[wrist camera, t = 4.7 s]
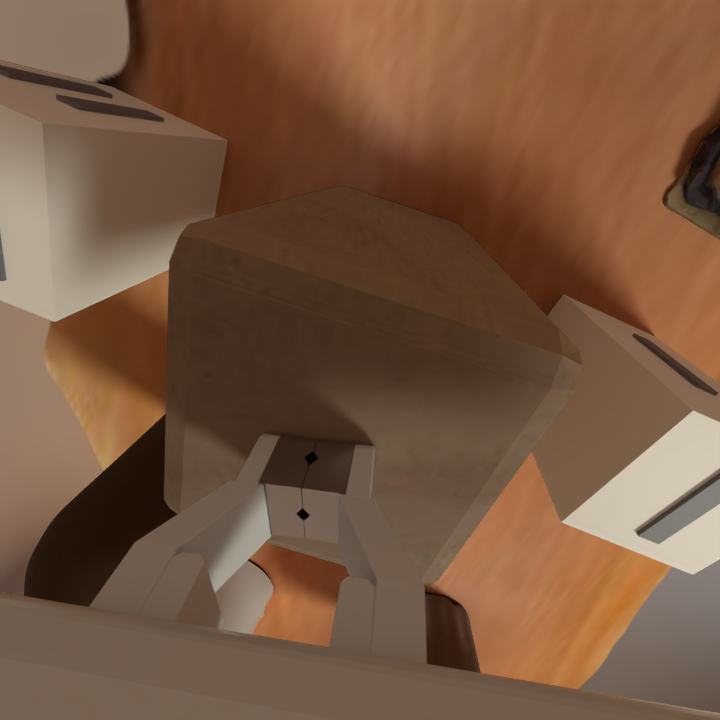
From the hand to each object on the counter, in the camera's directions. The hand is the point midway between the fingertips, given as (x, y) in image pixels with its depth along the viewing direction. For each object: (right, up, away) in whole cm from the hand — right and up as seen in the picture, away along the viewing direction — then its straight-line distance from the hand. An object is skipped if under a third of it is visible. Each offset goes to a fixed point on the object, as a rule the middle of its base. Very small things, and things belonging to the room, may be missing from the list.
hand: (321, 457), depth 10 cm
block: (+3, +9, +18) cm, 20 cm away
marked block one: (+18, +3, +19) cm, 27 cm away
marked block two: (-13, +16, +16) cm, 26 cm away
